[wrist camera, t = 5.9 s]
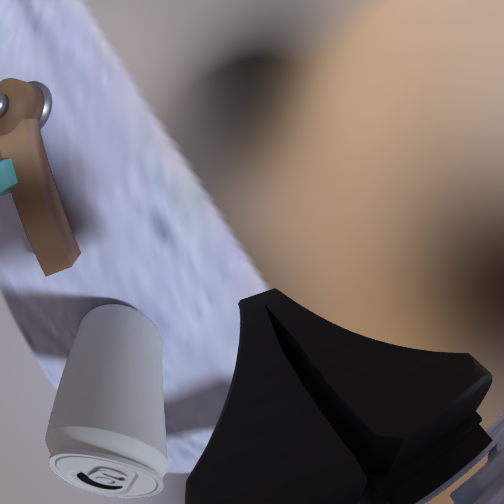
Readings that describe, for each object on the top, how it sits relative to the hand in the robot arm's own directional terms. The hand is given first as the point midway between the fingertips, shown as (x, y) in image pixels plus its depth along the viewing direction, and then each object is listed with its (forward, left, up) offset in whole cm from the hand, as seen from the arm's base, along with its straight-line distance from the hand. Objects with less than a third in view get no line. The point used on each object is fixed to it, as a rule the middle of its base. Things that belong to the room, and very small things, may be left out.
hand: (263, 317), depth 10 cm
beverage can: (-5, +10, -10) cm, 14 cm away
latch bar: (+8, +10, -9) cm, 15 cm away
